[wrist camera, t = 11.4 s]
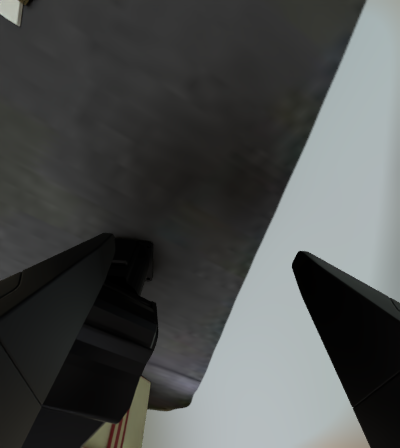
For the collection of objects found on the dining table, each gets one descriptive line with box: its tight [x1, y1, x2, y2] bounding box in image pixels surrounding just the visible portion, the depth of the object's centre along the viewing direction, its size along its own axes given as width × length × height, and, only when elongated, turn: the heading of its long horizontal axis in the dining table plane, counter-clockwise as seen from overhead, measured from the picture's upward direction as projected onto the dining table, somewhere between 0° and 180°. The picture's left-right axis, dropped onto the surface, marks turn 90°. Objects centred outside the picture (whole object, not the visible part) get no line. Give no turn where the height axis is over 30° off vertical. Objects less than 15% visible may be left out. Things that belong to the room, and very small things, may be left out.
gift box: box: [82, 376, 151, 448], centre depth 34 cm, size 17×18×17 cm
